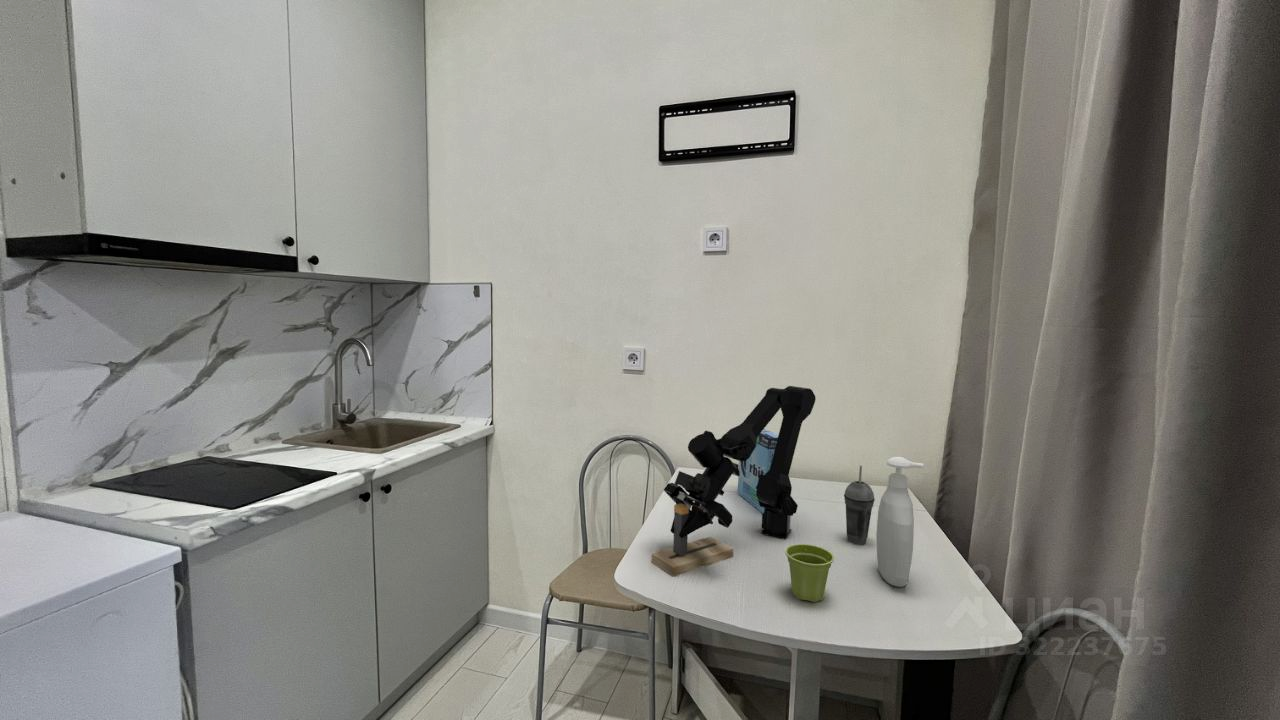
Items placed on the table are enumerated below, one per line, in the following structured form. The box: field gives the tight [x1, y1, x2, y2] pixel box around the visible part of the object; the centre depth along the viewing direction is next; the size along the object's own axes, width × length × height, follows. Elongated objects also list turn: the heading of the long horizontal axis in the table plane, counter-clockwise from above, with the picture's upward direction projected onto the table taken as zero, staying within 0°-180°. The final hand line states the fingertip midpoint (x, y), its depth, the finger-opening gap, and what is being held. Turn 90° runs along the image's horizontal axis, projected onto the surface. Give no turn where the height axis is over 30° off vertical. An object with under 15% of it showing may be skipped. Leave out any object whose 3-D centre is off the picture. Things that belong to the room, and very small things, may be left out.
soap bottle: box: [875, 456, 925, 588], centre depth 113 cm, size 14×8×27 cm, turn 169°
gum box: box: [737, 428, 779, 514], centre depth 158 cm, size 20×5×23 cm, turn 13°
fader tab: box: [672, 503, 689, 556], centre depth 118 cm, size 2×3×11 cm
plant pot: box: [784, 543, 835, 603], centre depth 106 cm, size 9×9×9 cm
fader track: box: [651, 536, 734, 577], centre depth 120 cm, size 18×8×2 cm, turn 125°
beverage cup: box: [843, 465, 876, 546], centre depth 132 cm, size 7×7×20 cm
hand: (675, 534), depth 117 cm, fingers closed on fader tab, 2 cm apart
